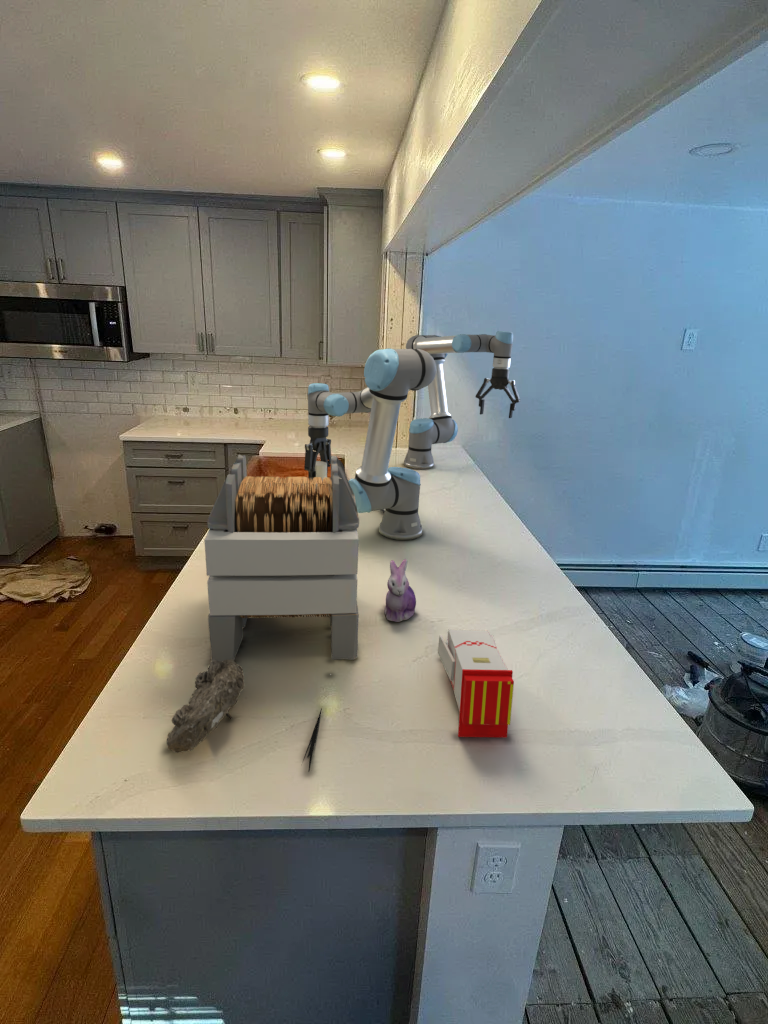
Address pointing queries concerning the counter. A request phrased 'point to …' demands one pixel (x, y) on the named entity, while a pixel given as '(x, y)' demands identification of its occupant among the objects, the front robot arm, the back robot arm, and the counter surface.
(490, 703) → the toy
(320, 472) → the canister
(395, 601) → the figurine
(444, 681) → the counter surface
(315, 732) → the feather
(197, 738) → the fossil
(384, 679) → the counter surface
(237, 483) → the record crate
